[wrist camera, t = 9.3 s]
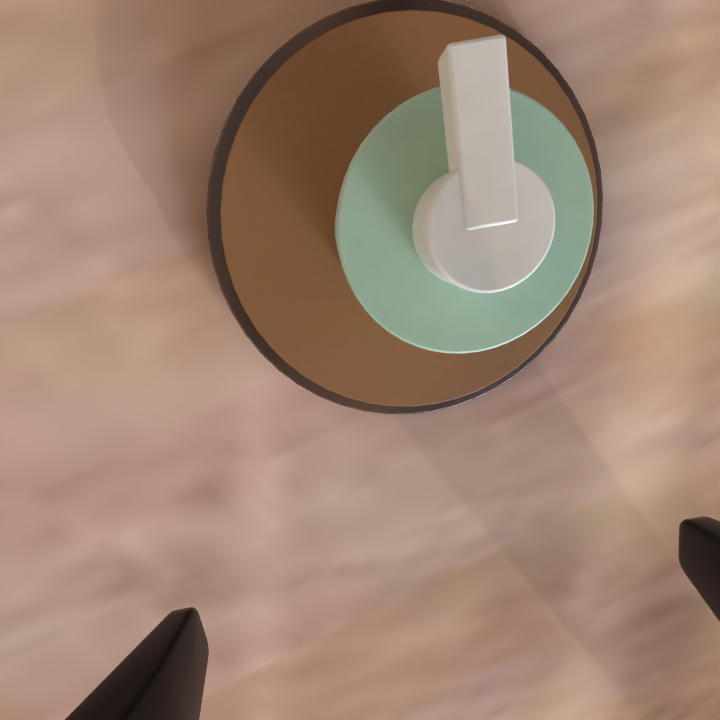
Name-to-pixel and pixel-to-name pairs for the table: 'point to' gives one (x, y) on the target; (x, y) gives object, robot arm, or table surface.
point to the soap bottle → (408, 208)
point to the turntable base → (386, 3)
